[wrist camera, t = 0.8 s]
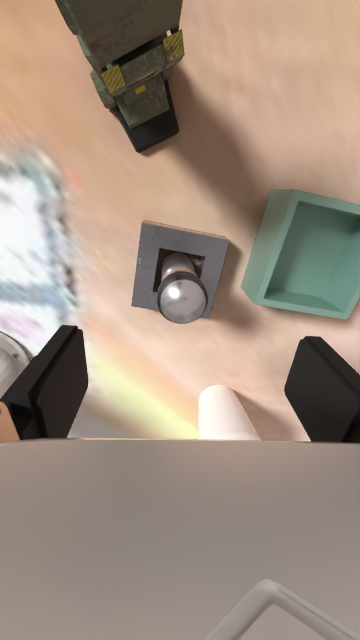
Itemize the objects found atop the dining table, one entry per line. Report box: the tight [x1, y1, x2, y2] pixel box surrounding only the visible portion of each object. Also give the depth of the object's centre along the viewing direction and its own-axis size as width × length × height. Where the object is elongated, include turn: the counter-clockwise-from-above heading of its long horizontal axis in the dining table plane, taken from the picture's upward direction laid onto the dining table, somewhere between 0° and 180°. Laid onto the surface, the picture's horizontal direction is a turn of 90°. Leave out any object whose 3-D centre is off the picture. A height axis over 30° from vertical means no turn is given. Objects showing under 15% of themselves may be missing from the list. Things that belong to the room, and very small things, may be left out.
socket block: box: [131, 220, 230, 318], centre depth 32 cm, size 10×10×3 cm
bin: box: [241, 190, 360, 320], centre depth 31 cm, size 12×12×6 cm
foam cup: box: [198, 385, 261, 440], centre depth 38 cm, size 10×9×13 cm
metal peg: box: [157, 253, 208, 324], centre depth 28 cm, size 5×5×12 cm
